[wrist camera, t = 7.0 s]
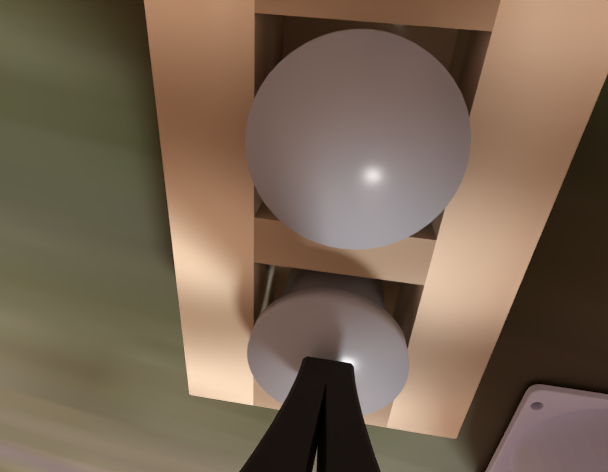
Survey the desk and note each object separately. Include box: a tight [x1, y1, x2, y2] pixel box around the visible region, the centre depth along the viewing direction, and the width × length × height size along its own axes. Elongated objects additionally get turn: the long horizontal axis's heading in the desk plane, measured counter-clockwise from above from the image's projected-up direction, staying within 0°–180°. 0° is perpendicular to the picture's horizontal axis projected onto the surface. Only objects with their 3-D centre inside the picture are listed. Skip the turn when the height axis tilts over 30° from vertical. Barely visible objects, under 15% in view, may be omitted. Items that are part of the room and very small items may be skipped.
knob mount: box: [144, 0, 608, 439], centre depth 11 cm, size 21×10×4 cm, turn 176°
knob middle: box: [245, 29, 471, 250], centre depth 11 cm, size 5×5×4 cm
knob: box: [247, 268, 409, 416], centre depth 14 cm, size 5×5×4 cm
